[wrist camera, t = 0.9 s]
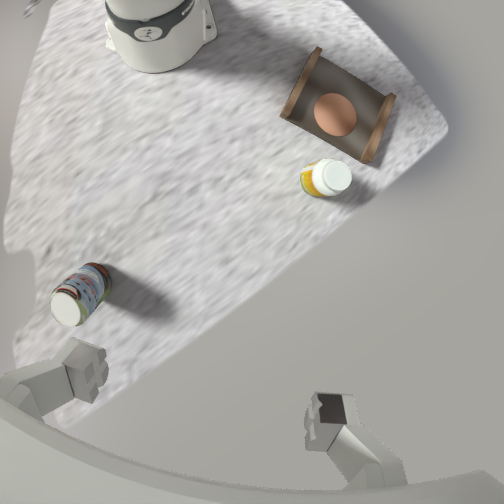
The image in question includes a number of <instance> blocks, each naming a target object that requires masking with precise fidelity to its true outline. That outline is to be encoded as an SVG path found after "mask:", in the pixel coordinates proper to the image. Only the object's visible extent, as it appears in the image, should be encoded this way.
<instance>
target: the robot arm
mask: <svg viewBox="0 0 504 504" xmlns="http://www.w3.org/2000/svg"><path fill="white" fill-rule="evenodd" d="M105 5H106V11H107V14H108V17H109V18H108V21H107V22H106V23H105V25H106V29H107V31H108V34H109V36H108V39H107V41H106V47H107V49H108V50H109V51H111V52H113V53H116V54H118V55H119V56H120V57H121V58H122V59H123V61H124V62H125V63H126V64H127V65H128V66H130V67H131V68H133V69H135V70H138V71H141V72H147V73H158V72H164V71H168V70H172V69H174V68H177V67H179V66H181V65H182V64H184V63H186V62H187V61H188V60H190V59H191V58H192V57H193V56H194V55H195V54H196V53H197V51H198V50H199V49H200V48H201V47H202V46H203V45H204V44H206V43H208V42H210V41H211V40H213V39H214V38H216V36H217V29H216V25H215V22H214V18H213V15H212V11H211V8H210V4H209V1H208V0H105ZM207 27H210V29H207ZM106 356H107V355H106V350H105V349H104V348H102V347H99V346H96V345H93V344H90V343H88V342H85V341H82V340H79V339H76V338H74V337H73V338H70V339H69V340H68V341H67V342H66V344H65V345H64V346H63V347H62V348H61V349H60V350H59V352H58V353H57V354H56V355H55V356H54V357H53V358H52V360H51V359H46V360H43V361H40V362H37V363H34V364H31V365H28V366H25V367H22V368H20V369H17V370H14V371H11V372H8V373H5V374H4V375H3V376H2V377H1V378H0V504H504V485H503V484H502V483H501V482H499V481H498V480H497V479H496V478H494V477H493V476H492V475H490V474H488V473H487V472H485V471H483V470H477V471H472V472H469V473H465V474H461V475H456V476H453V477H448V478H443V479H439V480H433V481H428V482H422V483H416V484H410V485H408V483H407V479H406V475H405V471H404V467H403V463H402V460H400V458H398V457H397V456H396V455H395V454H394V453H393V452H392V451H391V450H390V449H389V448H388V447H387V446H386V445H385V444H383V443H382V442H381V441H380V440H379V439H378V438H377V437H376V436H375V435H374V434H373V433H372V432H371V431H370V430H369V429H368V428H366V426H364V425H361V423H360V419H359V414H358V410H357V406H356V402H355V398H354V395H353V394H339V393H326V392H315V393H314V394H313V396H312V398H311V399H312V404H310V405H309V406H308V408H307V410H306V414H305V419H304V427H305V429H306V430H307V434H306V436H305V448H306V450H308V451H321V452H327V454H328V456H329V457H330V458H331V460H332V461H333V462H334V464H335V465H336V467H337V468H338V469H339V471H340V472H341V473H342V475H343V476H344V477H345V479H346V480H347V482H348V485H347V486H346V487H345V488H344V489H343V490H332V491H331V490H330V491H321V490H290V489H275V488H265V487H256V486H247V485H240V484H233V483H226V482H220V481H215V480H209V479H204V478H199V477H195V476H190V475H186V474H181V473H177V472H173V471H169V470H166V469H162V468H158V467H155V466H151V465H148V464H144V463H141V462H138V461H135V460H132V459H129V458H126V457H123V456H120V455H117V454H114V453H112V452H109V451H106V450H103V449H101V448H98V447H96V446H93V445H91V444H89V443H86V442H84V441H81V440H79V439H77V438H75V437H72V436H70V435H68V434H66V433H63V432H61V431H59V430H57V429H55V428H53V427H51V426H49V425H47V424H45V422H44V420H43V418H42V416H44V415H46V414H47V413H49V412H51V411H53V410H55V409H56V408H58V407H60V406H62V405H63V404H65V403H67V402H69V401H71V400H72V399H74V397H75V398H78V399H80V400H83V401H86V402H88V403H91V404H92V403H93V402H94V400H95V398H96V397H97V395H98V394H99V391H98V388H99V387H101V386H103V385H104V384H105V382H106V380H107V377H108V371H109V368H108V364H107V362H106V361H105V360H104V359H105V358H106Z"/></svg>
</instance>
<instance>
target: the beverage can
mask: <svg viewBox="0 0 504 504" xmlns="http://www.w3.org/2000/svg"><path fill="white" fill-rule="evenodd" d="M111 286H112V281H111V277H110V275H109V273H108V271H107V270H106V269H105V268H104V267H103V266H101V265H100V264H97V263H87V264H85V265H83V266H82V267H81V268H80V269H78V270H77V271H76V272H75V273H73V274H72V275H71V276H69V277H68V278H67V279H66V280H64V281H63V282H62V283H61V284H59V285H58V286H57V287H56V288H55V289H54V290H53V292H52V295H51V299H50V311H51V313H52V315H53V317H54V318H55V320H56V321H57V322H58V323H60V324H61V325H63V326H66V327H74V326H79V325H81V324H83V323H84V322H85V321H86V320H87V319H88V317H89V316H90V315H91V314H92V313H93V311H94V310H95V309H96V308H97V307H98V305H99V304H100V303H101V302H102V301H103V300H104V298H105V297H106V296H107V295H108V294H109V292H110V290H111Z"/></svg>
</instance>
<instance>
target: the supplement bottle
mask: <svg viewBox="0 0 504 504" xmlns="http://www.w3.org/2000/svg"><path fill="white" fill-rule="evenodd" d="M351 180H352V173H351V170H350V168H349V167H348V166H347V165H346V164H345V163H344V162H341V161H338V160H336V159H333V158H325V159H322V160H319V161H316V162H313V163H310V164H308V165H306V166H305V167H304V168H303V169H302V171H301V173H300V185H301V187H302V189H303V190H304V192H306V193H307V194H308V195H310V196H315V197H319V196H335V195H338V194H340V193H341V192H342V191H343V190H345V189H346V188H347V187H348V186H349V185H350V183H351Z"/></svg>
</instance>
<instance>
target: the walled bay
mask: <svg viewBox="0 0 504 504" xmlns="http://www.w3.org/2000/svg"><path fill="white" fill-rule="evenodd" d="M322 50H323V49H322V48H320V47H318V46H317V47H316V49H315V50H314V51H313V52H312V54H311V56H310V58H309V60H308V62H307V63H306V65H305V67H304V69H303V71H302V73H301V75H300V77H299V79H298V81H297V83H296V85H295V87H294V88H293V90H292V92H291V94H290V96H289V98H288V100H287V102H286V104H285V106H284V108H283V110H282V112H281V114H280V117H282V118H283V119H285V120H287V121H289V122H291V123H293V124H295V125H297V126H299V127H301V128H303V129H304V130H306V131H308V132H310V133H312V134H313V135H315V136H317V137H319V138H321V139H322V140H324V141H326V142H328V143H329V144H331V145H333V146H335V147H336V148H338V149H340V150H341V151H343V152H345V153H346V154H348V155H350V156H351V157H353V158H354V159H356V160H358V161H359V162H361V163H363V164H364V163H369V162H372V160H373V157H374V155H375V152H376V150H377V147H378V144H379V142H380V139H381V137H382V134H383V131H384V129H385V126H386V123H387V120H388V118H389V115H390V112H391V109H392V107H393V104H394V101H395V98H396V95H394V94H393V93H390V94H389V95H387V96H384V95H382V94H381V93H379V92H378V91H376V90H375V89H373V88H372V87H370V86H369V85H367V84H366V83H364V82H363V81H361V80H360V79H358V78H357V77H355V76H353V75H352V74H350V73H348V72H347V71H345V70H344V69H342V68H340V67H338V66H337V65H335V64H333V63H332V62H330V61H328V60H326V59H325V58H323V57H321V56H319V55H320V53H321V51H322Z"/></svg>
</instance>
